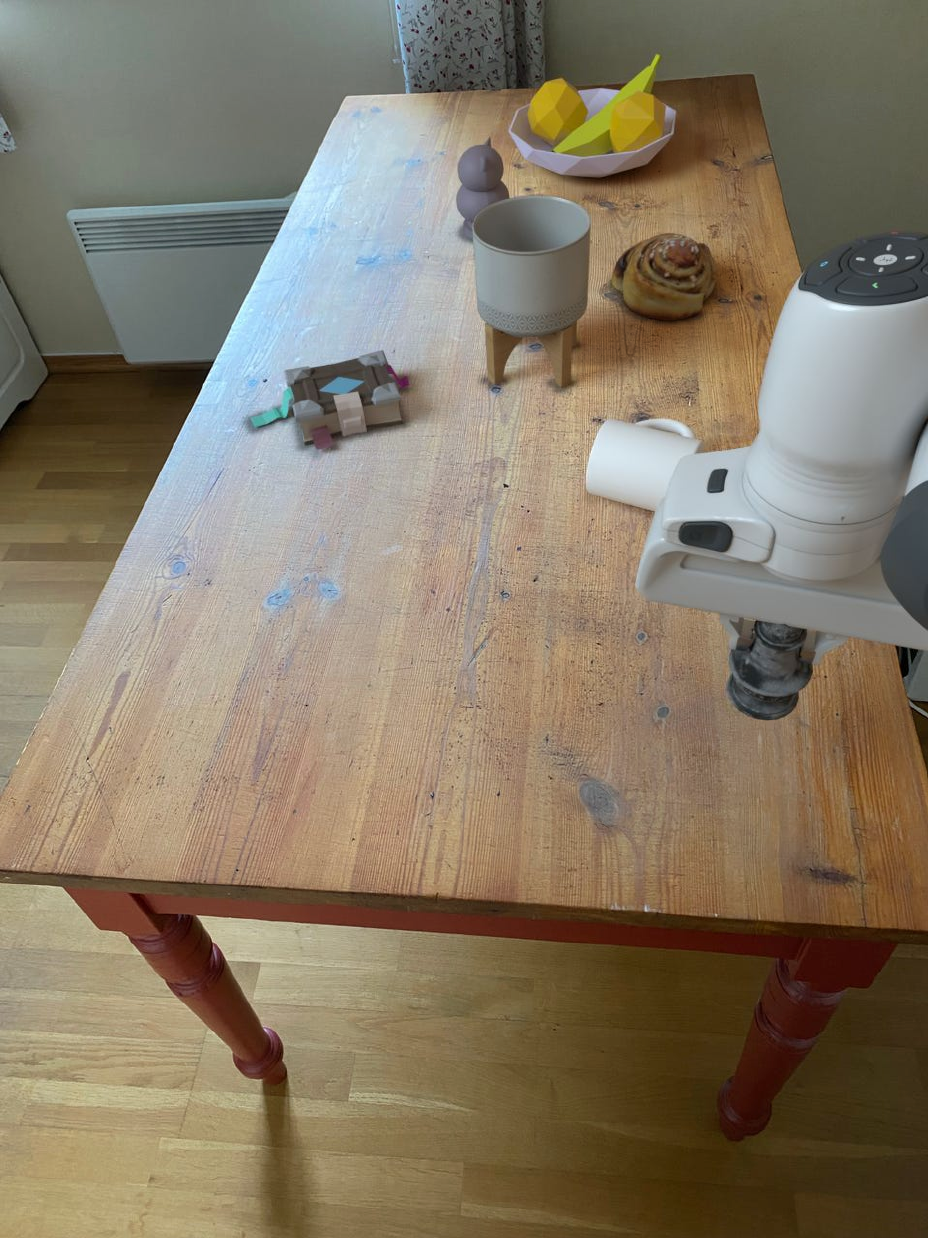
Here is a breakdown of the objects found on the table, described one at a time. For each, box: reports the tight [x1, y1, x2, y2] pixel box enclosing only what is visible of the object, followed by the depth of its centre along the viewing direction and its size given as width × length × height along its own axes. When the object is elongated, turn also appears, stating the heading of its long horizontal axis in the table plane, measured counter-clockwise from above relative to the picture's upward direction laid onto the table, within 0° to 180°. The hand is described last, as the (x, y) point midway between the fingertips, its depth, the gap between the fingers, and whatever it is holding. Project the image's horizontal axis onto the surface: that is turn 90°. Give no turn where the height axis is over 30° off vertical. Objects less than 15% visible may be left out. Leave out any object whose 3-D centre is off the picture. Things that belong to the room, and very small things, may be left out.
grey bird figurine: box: [455, 136, 511, 241], centre depth 129 cm, size 8×8×12 cm
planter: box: [472, 194, 592, 389], centre depth 104 cm, size 13×13×18 cm
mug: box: [585, 417, 706, 513], centre depth 92 cm, size 12×10×8 cm
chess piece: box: [725, 620, 814, 721], centre depth 63 cm, size 6×6×12 cm
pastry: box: [611, 232, 718, 322], centre depth 116 cm, size 13×15×8 cm
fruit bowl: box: [508, 53, 677, 179], centre depth 142 cm, size 28×27×11 cm
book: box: [249, 349, 410, 451], centre depth 104 cm, size 20×12×5 cm, turn 105°
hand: (773, 650), depth 64 cm, fingers closed on chess piece, 3 cm apart
